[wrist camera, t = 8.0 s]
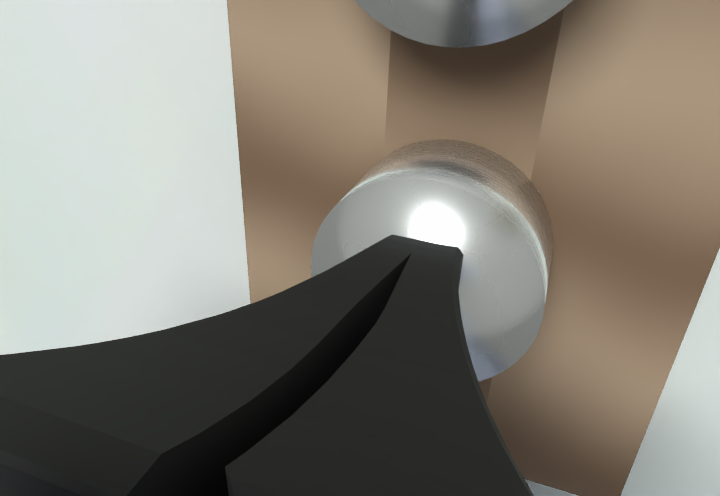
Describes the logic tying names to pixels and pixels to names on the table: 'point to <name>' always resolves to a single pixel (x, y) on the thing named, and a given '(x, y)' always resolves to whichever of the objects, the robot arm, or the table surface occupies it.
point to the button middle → (461, 19)
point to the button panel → (537, 161)
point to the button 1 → (457, 236)
